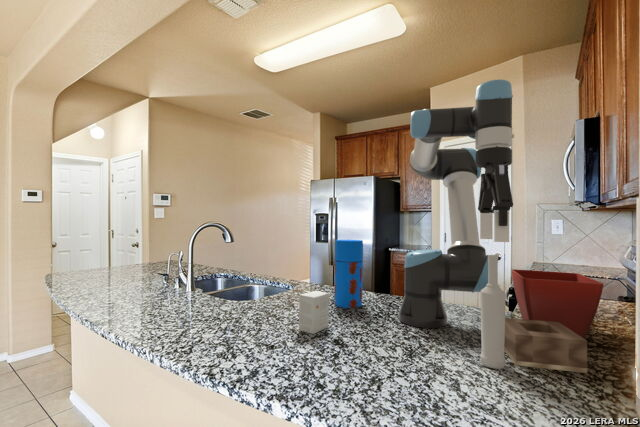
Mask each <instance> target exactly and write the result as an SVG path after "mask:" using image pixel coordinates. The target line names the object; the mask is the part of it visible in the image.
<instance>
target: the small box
mask: <svg viewBox="0 0 640 427" xmlns="http://www.w3.org/2000/svg"><path fill="white" fill-rule="evenodd" d="M298 298H299V299H298V300H299V303H298V304H299V305H298V306H299V307H298V308H299V312H298V314H299V315H298V330H299V331H300V332H303V333H308V334H310V335H311V334H312V335H314V334H316V333H319V332H321V331H323V330H325V329H327V328H329V320H330V319H329V318H330V316H329V315H330V311H329V310H330V293H329V292H324V291H319V290H312V291H309V292H305V293H303V294H299V296H298Z"/></svg>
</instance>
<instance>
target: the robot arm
mask: <svg viewBox="0 0 640 427" xmlns="http://www.w3.org/2000/svg"><path fill="white" fill-rule="evenodd" d="M512 89H513V88H512V83H511V82H510V80H509V81H508V80H507V79H492V80H487V81H485V82H483V83H481V84H479V85H478V86H477V87H476V90H475V97H474V100H475V105H474V106H464V107H448V108H445V107H443V108H429V109H428V108H424V109H419V110H413V111H412V112H411V114H410V128H409V129H410V130H409V131H410V136H411V138H413V139H414V146H413V147H414V148H413V150H412V151H411V153H410V156H409V165H410V168H411V169H412V170H413V172H414V173H415V174H417V175H418V176H419V177H421V178H423V179H427V180H431V181H434V180H435V181H440V180H441V181H442V184H443V186H444V187H445V188H447V200H448V211H449V227H450V229H449V230H450V238H451V239H450V242H451V244H450V246H449V248H447V251H446V252H447V253H443V251H442V249H440V248H439V249H437V248H434V249H431V248H430V249H428V248H427V249H420V250H419V249H418V250H412V251H409V252H408V253H406V255H405V257H404V265H403V268H404V296H403V298H402V302H401V305H400V309H399V311H398V320H399V321H400V322H401V323H403V324H405V325H408V326H412V327H417V328H426V329H431V328H432V329H436V328H442V327H446V326H447V325H448V315H447V312H446V309H445V306H444V302H443V300H442V291H451V292H468V293H470V292H471V293H481V290H482V289H483V288H485V287H486V284H488V255H489V254H487V252H486V251H487V250H486V248H485V247H484V246H482V245H481V244H480V240H493V242H495V243H510V210H511V208H513V206H514V203H513V202H514V201H513V197H512V190H511V184H510V177H509V166H510V165H512V163H513V149H512V148H510V147H511V146H512V144H513V142H512V141H513V140H512V139H514V138H515V134H514V133H512V130H513V97H514V95H513V90H512ZM454 137H456V138H457V137H458V138H459V137H469V138H470V139H473V140H474V141H475V143H474V144H475V148H472V147H471V148H468V147H461V148H440V146H441V142H442V139H443V138H454ZM482 169H484V173H482ZM478 179H480V188H479V189H480V190H479V198H478V199H479V200H478V206H477V210H478V211H479V227H478V218H477V210H476V201H475V200H476V199H475V192H474V185H475V184H476V183H477V181H478ZM493 203H494V204H493ZM479 232H480V233H479Z"/></svg>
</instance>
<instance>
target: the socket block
mask: <svg viewBox="0 0 640 427" xmlns="http://www.w3.org/2000/svg"><path fill="white" fill-rule="evenodd" d="M504 353H506V355H507V356H508V357H509V359H510V360H511V362H513V364H514V365H515V366H519V367H530V368H536V369H537V368H538V369H545V370H546V369H547V370H557V371H565V372H566V371H567V372H574V373H583V374H588V340H587V339H585V338H582V337H581V336H579V335H578V334H576V333H574V332H573V331H571V330H570V329H568V328H567V327H565V326H564V325H562V324H561V323H559V322H551V321H538V320H526V319H523V318H511V317H510V318H509V317H505V342H504Z"/></svg>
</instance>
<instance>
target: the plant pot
mask: <svg viewBox="0 0 640 427" xmlns="http://www.w3.org/2000/svg"><path fill="white" fill-rule="evenodd" d="M511 277H512V282H513V283H512V284H513V288H514V292H515V293H514V294H515V297H516V301H517V305H518V308H519V310H520V311H519V312H520V315H521V319H526V320H538V321H551V322H559V323H561V324H562V325H564V326H565V327H567V328H568V329H570V330H571V331H573V332H574V333H576V334H578V335H579V336H581V337H582V338H584V339H585V338H586V336H587V334H588V333H589V331H590V329H591V327H592V324H593V322H594V320H595V316H596V315H597V311H598V308H599V306H600V301H601V299H602V298H601V297H602V293H603V291H604V290H603V289H604V283H603V282H602V281H598V280H596V279H594V278H591V277H588V276H587V275H584V274H581V273H575V272H564V271H563V272H560V271H549V270H548V271H546V270H544V271H543V270H534V269H533V270H532V269H511Z"/></svg>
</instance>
